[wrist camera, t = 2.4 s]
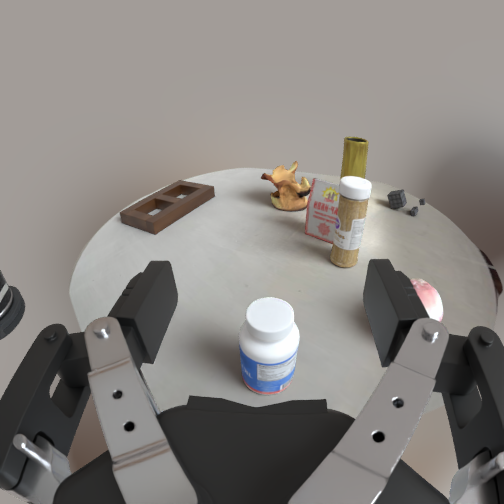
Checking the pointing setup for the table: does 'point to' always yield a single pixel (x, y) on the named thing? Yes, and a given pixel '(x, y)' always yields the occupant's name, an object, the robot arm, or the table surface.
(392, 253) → the table surface
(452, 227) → the table surface
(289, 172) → the orange curved piece
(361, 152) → the vase
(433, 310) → the onion
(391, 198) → the building blocks
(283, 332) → the pill bottle
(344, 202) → the sprinkles bottle
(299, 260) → the table surface
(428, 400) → the robot arm
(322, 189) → the white gabled box
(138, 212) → the socket base
